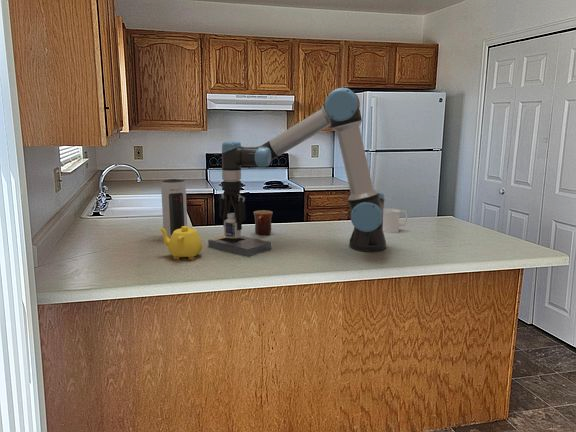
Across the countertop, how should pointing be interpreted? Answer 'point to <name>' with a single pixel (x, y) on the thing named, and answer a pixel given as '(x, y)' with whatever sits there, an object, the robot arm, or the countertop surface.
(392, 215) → the cup
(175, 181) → the speaker
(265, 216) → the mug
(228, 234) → the pill bottle
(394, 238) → the countertop surface
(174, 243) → the teapot
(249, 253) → the grey flat block
